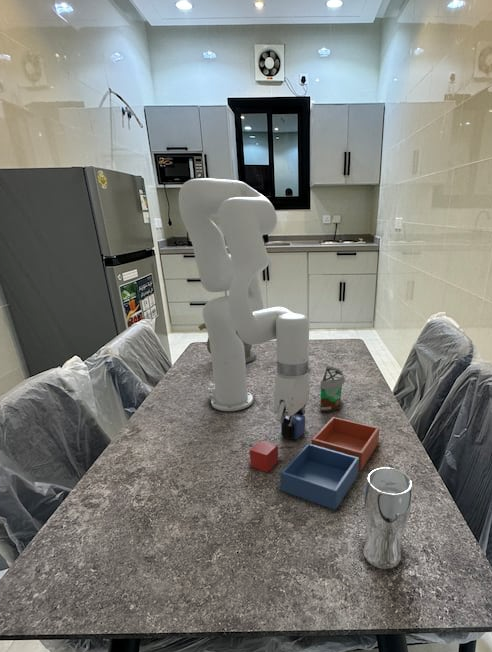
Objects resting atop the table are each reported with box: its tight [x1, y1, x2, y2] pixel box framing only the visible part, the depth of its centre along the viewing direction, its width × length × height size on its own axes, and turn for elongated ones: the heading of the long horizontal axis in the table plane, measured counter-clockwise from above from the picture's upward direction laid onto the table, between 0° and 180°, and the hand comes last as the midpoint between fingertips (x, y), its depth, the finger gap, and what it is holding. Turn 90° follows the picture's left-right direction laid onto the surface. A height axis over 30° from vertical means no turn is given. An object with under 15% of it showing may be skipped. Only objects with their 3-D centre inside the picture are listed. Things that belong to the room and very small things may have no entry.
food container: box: [320, 366, 346, 413], centre depth 111 cm, size 12×6×10 cm, turn 168°
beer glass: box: [363, 467, 413, 570], centre depth 60 cm, size 7×7×15 cm
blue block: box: [280, 414, 306, 441], centre depth 97 cm, size 4×4×4 cm
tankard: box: [198, 322, 255, 364], centre depth 148 cm, size 20×13×15 cm, turn 94°
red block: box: [249, 440, 279, 473], centre depth 86 cm, size 4×4×4 cm
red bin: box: [311, 416, 380, 471], centre depth 91 cm, size 12×12×4 cm
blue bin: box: [279, 443, 359, 511], centre depth 80 cm, size 12×12×4 cm
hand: (293, 432), depth 98 cm, fingers closed on blue block, 4 cm apart
